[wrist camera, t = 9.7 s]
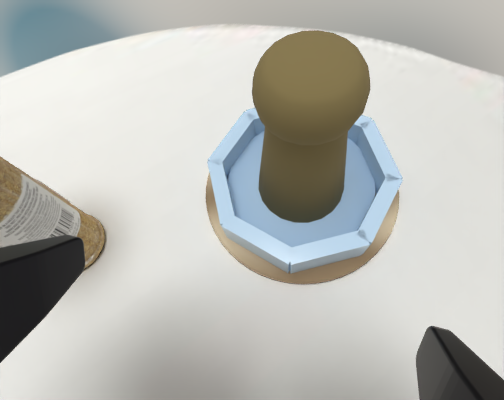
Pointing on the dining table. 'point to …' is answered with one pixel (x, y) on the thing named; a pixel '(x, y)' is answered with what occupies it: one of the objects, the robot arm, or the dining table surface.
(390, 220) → the placemat
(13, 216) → the sprinkles bottle
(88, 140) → the dining table surface
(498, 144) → the dining table surface
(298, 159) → the cork
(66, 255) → the robot arm
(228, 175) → the bowl
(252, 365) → the dining table surface
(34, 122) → the dining table surface
